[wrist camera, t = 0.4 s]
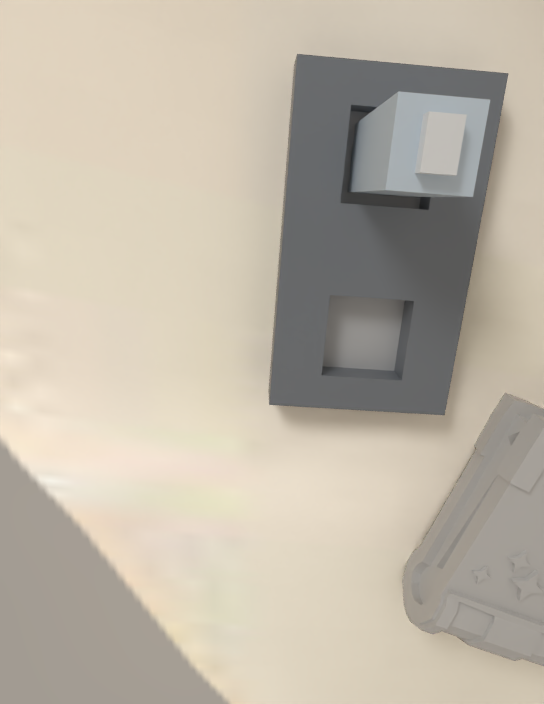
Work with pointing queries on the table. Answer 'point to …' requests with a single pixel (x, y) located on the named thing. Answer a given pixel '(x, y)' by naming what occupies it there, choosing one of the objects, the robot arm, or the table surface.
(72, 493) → the table surface
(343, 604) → the table surface
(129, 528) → the table surface
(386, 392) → the jack panel
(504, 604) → the grey lumpy block
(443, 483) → the table surface
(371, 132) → the plug
